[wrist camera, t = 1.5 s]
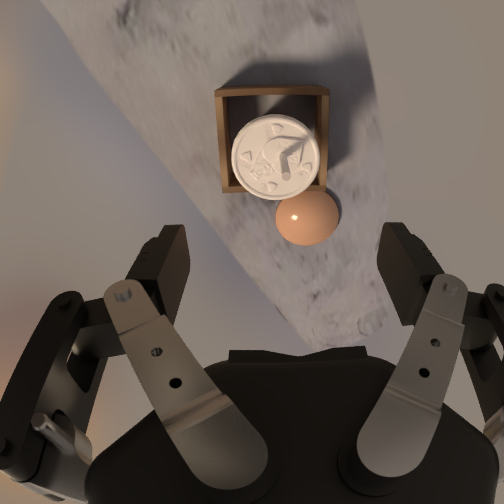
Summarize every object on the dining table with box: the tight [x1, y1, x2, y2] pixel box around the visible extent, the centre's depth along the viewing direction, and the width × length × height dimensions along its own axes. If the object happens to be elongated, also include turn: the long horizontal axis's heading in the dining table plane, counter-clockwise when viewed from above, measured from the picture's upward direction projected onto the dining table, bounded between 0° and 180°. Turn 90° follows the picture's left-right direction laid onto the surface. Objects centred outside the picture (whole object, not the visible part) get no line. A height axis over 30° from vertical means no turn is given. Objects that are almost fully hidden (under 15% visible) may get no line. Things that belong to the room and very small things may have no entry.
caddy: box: [215, 85, 329, 193], centre depth 28 cm, size 10×10×4 cm
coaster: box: [276, 191, 339, 245], centre depth 34 cm, size 7×7×1 cm
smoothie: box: [231, 114, 320, 200], centre depth 24 cm, size 6×6×14 cm
